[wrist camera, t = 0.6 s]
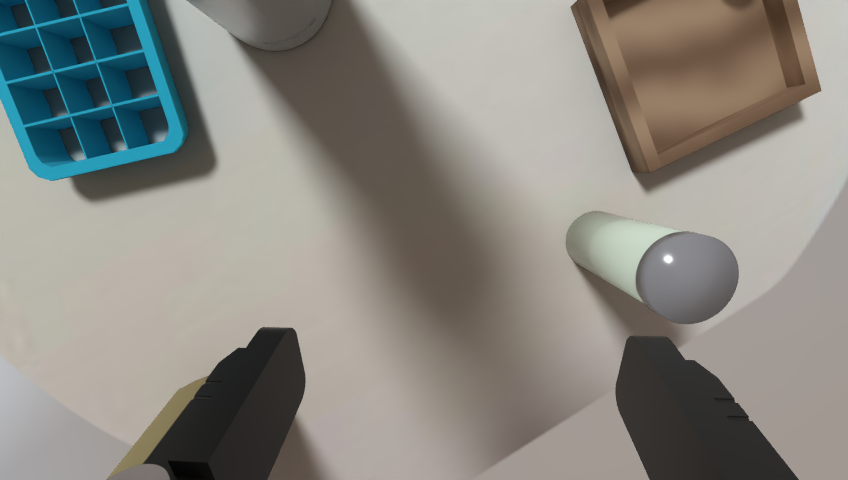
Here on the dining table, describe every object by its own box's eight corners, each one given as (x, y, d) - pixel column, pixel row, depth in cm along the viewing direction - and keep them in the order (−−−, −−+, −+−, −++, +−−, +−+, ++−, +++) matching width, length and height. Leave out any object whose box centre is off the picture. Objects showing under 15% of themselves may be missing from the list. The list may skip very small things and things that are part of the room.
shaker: (555, 226, 34) (634, 260, 22) (611, 199, 34) (722, 219, 22) (577, 278, 35) (665, 338, 23) (632, 253, 35) (749, 300, 23)
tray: (570, 6, 31) (584, -7, 28) (740, -80, 30) (770, -101, 28) (632, 172, 33) (650, 172, 31) (790, 96, 33) (821, 90, 30)
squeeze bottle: (280, 360, 35) (151, 556, 18) (278, 440, 37) (157, 695, 19) (187, 353, 35) (-40, 547, 17) (189, 435, 36) (-20, 690, 19)
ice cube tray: (70, 182, 32) (35, 184, 29) (-41, -96, 28) (-93, -126, 25) (208, 150, 32) (188, 148, 29) (116, -134, 28) (82, -168, 25)
